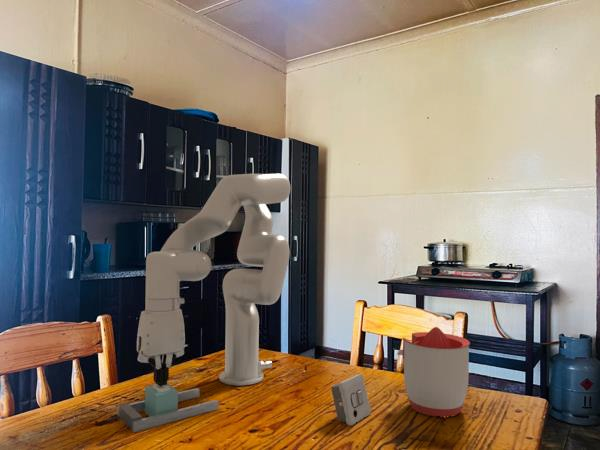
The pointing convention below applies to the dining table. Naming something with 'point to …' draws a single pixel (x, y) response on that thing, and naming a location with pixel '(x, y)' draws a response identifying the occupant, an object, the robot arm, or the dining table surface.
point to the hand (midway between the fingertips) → (161, 383)
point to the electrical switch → (351, 400)
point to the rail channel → (137, 423)
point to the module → (160, 399)
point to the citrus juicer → (436, 372)
